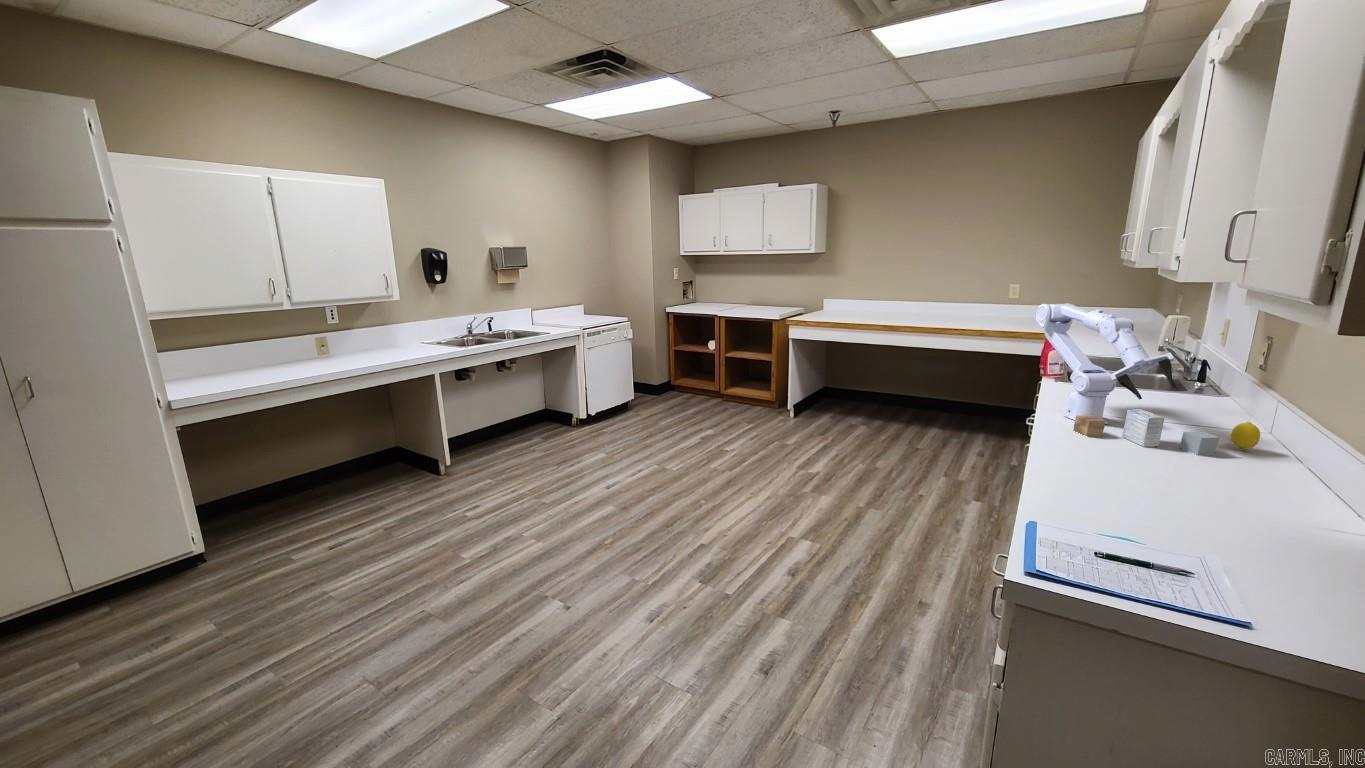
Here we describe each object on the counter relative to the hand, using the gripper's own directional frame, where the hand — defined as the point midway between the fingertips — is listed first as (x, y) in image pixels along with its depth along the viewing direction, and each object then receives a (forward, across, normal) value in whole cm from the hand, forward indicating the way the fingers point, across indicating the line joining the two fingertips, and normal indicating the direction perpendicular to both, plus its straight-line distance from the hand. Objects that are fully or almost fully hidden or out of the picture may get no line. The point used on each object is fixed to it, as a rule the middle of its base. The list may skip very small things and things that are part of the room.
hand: (1156, 392), depth 150 cm
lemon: (+15, +10, +21) cm, 28 cm away
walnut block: (+3, -19, +6) cm, 20 cm away
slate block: (+15, +1, +12) cm, 19 cm away
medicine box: (+9, -9, +9) cm, 16 cm away
